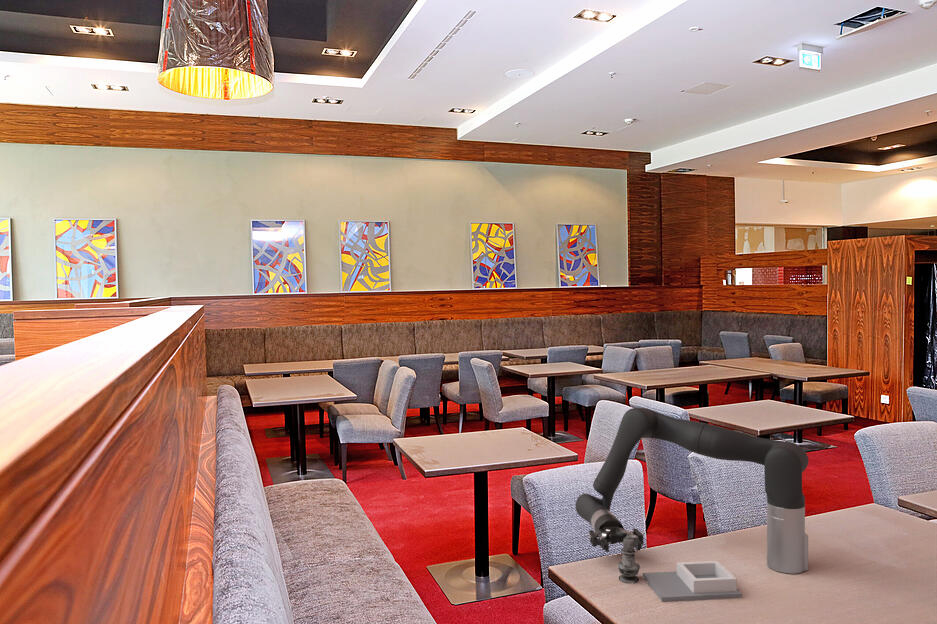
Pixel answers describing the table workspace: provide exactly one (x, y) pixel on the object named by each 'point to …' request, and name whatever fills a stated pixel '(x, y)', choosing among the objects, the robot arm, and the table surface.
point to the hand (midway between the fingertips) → (623, 547)
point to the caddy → (694, 582)
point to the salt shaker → (628, 562)
